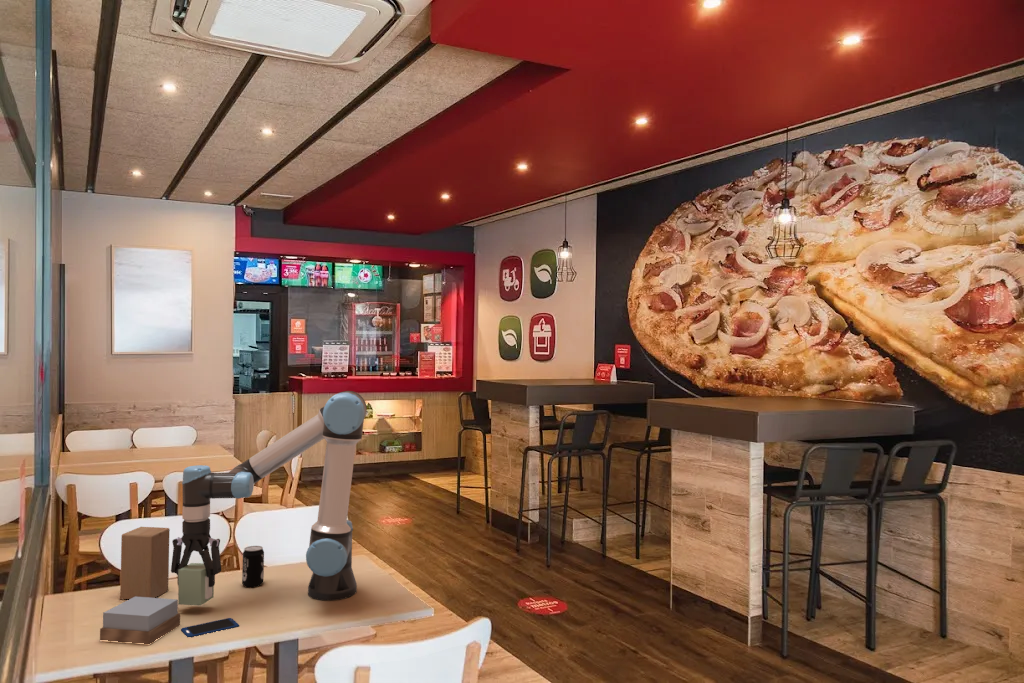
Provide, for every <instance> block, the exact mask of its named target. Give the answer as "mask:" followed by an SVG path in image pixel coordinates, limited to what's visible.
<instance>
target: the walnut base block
mask: <svg viewBox="0 0 1024 683" xmlns="http://www.w3.org/2000/svg"><path fill="white" fill-rule="evenodd" d="M179 625H181V613H179V612H178V614H177V615H175V616H173V617H172V618H170V619H168V620H167V621H165V622H163V623H162V624H160V625H158V626H157V627H155V628H153V629H152V630H150V631H135V630H123V629H111V628H103V626H102V627H101V628H99V641H100V640H108V641H118V642H132V643H144V644H150V643H152V642H154V641H155V640H156V639H158V638H160V637H161V636H163V635H164V636H166V635H167V634H169V633H170V632H172V631H173V629H174V630H175V629H177V628H179ZM176 627H177V628H176ZM171 630H172V631H171ZM168 632H169V633H168ZM166 633H167V634H166ZM165 634H166V635H165ZM164 636H163V637H164ZM161 638H162V637H161ZM161 638H160V639H161ZM158 640H159V639H158ZM155 642H156V641H155ZM155 642H154V643H155ZM152 644H153V643H152Z"/></svg>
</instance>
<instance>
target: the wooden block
mask: <svg viewBox="0 0 1024 683" xmlns="http://www.w3.org/2000/svg"><path fill="white" fill-rule="evenodd" d="M170 530H171V529H170V528H169V527H157V526H156V527H154V526H153V527H152V526H140V527H137V528H134V529H132V530H128V531H126V532H125V533H122V534H121V542H120V543H121V545H120V546H121V550H120V553H121V554H120V591H119V592H120V593H119V594H120V595H119V599H120V600H124V599H131V598H133V597H135V596H136V597H150V598H155V597H156V598H158V597H160V596H162V595H163V594H165V593H166V591H167V592H168V591H169V573H170V572H169V571H170V566H169V564H170ZM164 592H165V593H164ZM159 595H160V596H159ZM157 596H158V597H157Z"/></svg>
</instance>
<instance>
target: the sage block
mask: <svg viewBox="0 0 1024 683" xmlns="http://www.w3.org/2000/svg"><path fill="white" fill-rule="evenodd" d="M207 575H208V574H207V572H206V569H205V566H204V563H203V562H200V563H199V562H190V563H188V564H187V566H185V567H183V568H181V569H179V570H178V575H177V587H178V591H177V595H178V596H177V597H178V598H177V600H178V606H179V605H181V606H182V605H183V606H203V605H205V604H206V603H207V602H210V600H212V599H213V598H214V593H215V592H214V590H215V589H214V588H215V585H214V586H213V587H212V597H210V598H209V599H205V577H206V576H207Z"/></svg>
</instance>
